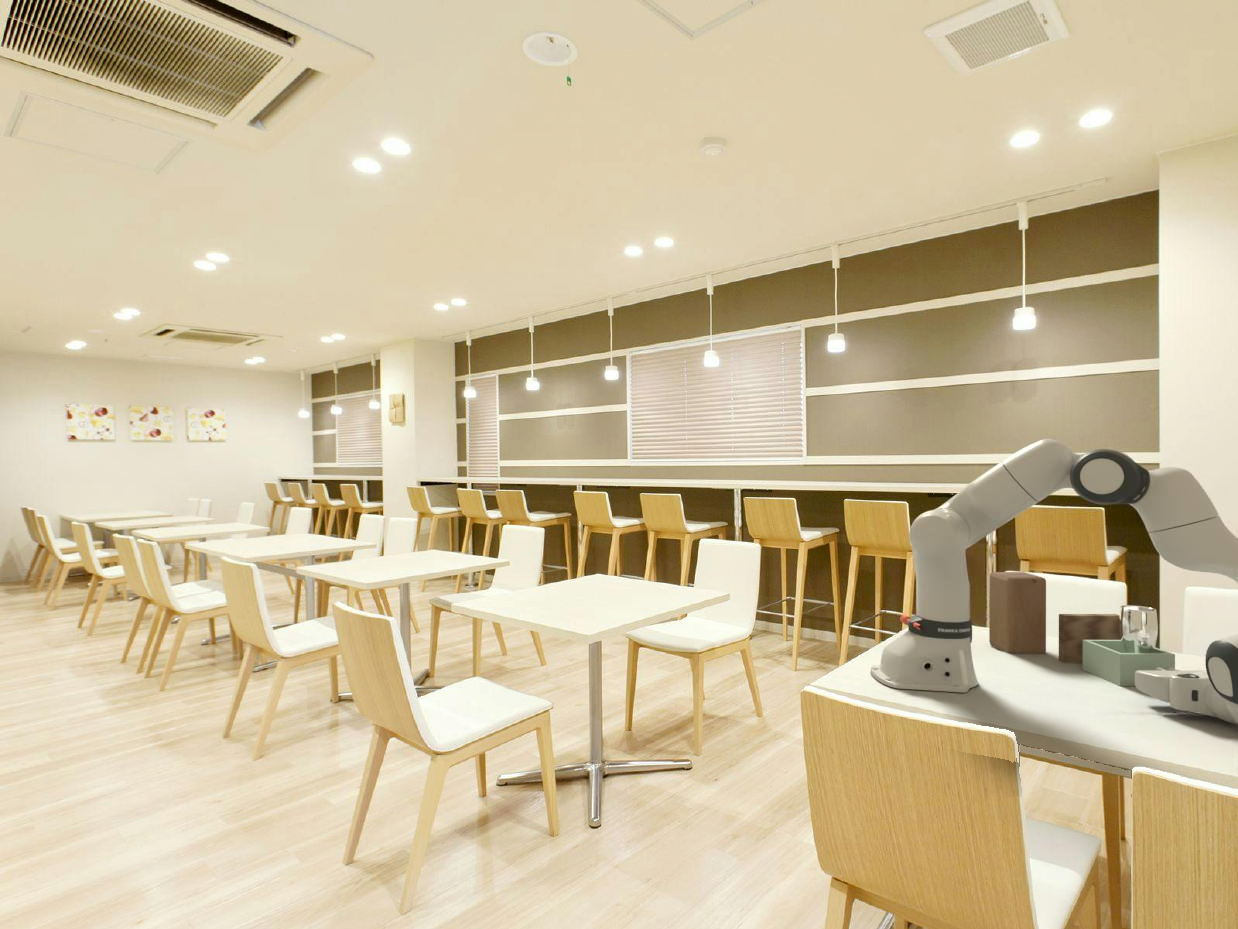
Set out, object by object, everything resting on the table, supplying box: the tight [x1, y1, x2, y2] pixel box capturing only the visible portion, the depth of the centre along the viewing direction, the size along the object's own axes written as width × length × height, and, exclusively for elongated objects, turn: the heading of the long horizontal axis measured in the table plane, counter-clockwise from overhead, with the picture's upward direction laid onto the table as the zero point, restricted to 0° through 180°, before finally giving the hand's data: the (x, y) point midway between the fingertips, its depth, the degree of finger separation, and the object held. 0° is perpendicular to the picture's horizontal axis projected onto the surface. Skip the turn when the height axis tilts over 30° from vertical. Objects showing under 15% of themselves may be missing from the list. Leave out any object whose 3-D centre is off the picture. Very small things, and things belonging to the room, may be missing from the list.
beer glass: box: [1119, 604, 1159, 653], centre depth 152 cm, size 7×7×15 cm
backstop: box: [1058, 613, 1121, 664], centre depth 156 cm, size 14×20×12 cm
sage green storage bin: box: [1082, 640, 1176, 687], centre depth 153 cm, size 12×12×7 cm
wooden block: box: [988, 571, 1047, 655], centre depth 177 cm, size 10×10×20 cm
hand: (1162, 671), depth 143 cm, fingers closed
